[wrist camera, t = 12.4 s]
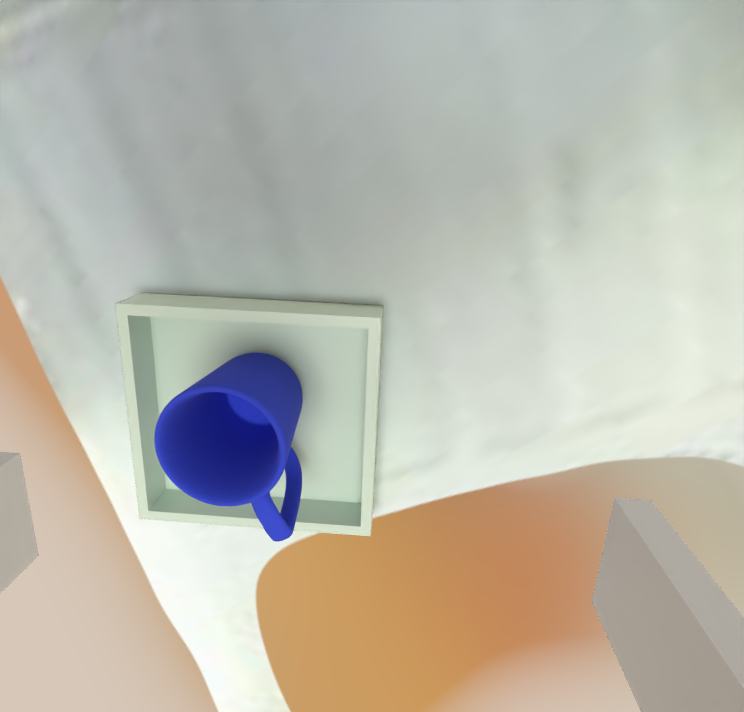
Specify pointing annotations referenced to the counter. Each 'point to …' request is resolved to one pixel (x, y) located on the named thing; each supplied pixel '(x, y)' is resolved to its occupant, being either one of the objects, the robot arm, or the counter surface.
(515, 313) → the counter surface
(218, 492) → the mug
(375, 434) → the tray
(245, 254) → the counter surface
